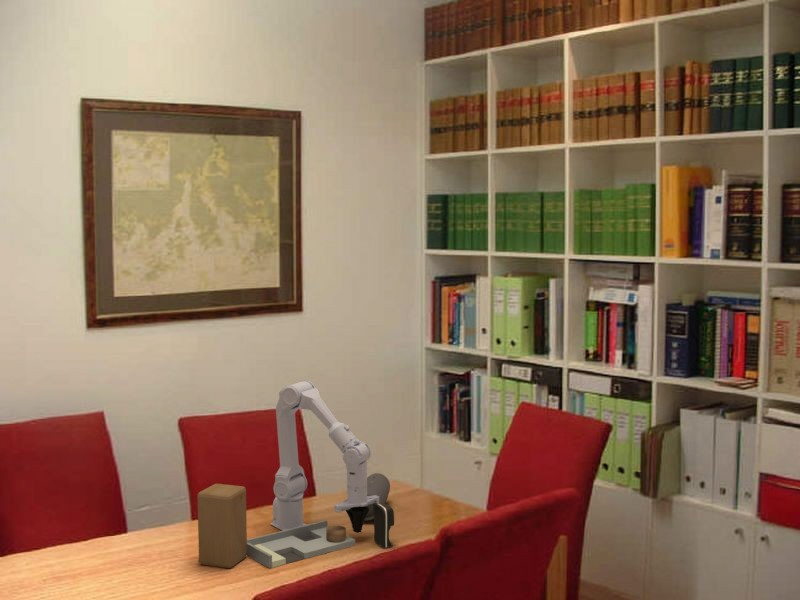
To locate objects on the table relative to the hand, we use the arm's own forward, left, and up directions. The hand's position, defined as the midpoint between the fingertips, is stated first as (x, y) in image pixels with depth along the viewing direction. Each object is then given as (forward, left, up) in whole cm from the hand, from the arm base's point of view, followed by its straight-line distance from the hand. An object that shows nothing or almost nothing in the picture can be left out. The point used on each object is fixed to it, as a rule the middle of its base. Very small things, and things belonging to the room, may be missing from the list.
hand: (357, 531), depth 284 cm
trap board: (-3, -17, -2) cm, 18 cm away
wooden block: (-9, -38, -2) cm, 39 cm away
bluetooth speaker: (-17, +18, -2) cm, 24 cm away
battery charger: (+8, +4, -2) cm, 9 cm away
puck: (0, -7, -1) cm, 7 cm away
